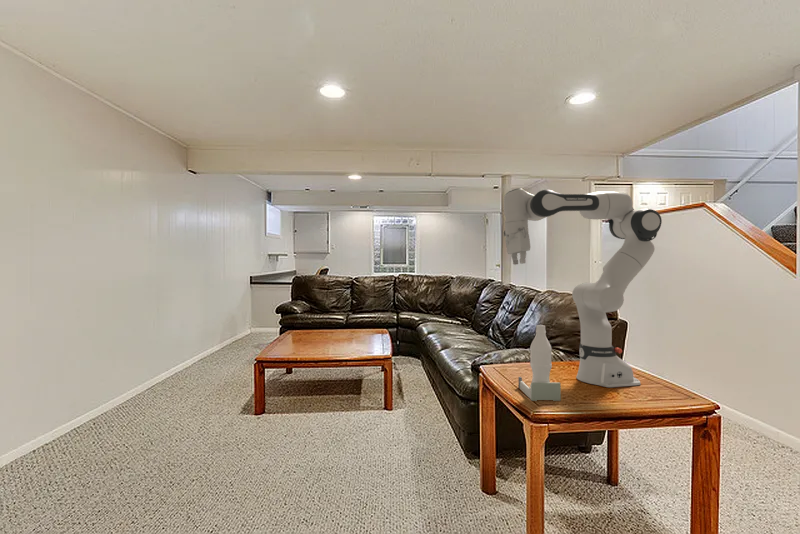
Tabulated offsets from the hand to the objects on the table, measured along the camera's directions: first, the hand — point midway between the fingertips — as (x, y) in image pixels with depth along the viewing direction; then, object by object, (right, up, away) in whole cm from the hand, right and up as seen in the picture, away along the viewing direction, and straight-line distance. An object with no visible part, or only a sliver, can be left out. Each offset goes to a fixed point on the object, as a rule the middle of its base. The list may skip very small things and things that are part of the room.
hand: (519, 264), depth 148 cm
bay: (+2, -47, -14) cm, 49 cm away
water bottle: (+2, -47, -17) cm, 50 cm away
